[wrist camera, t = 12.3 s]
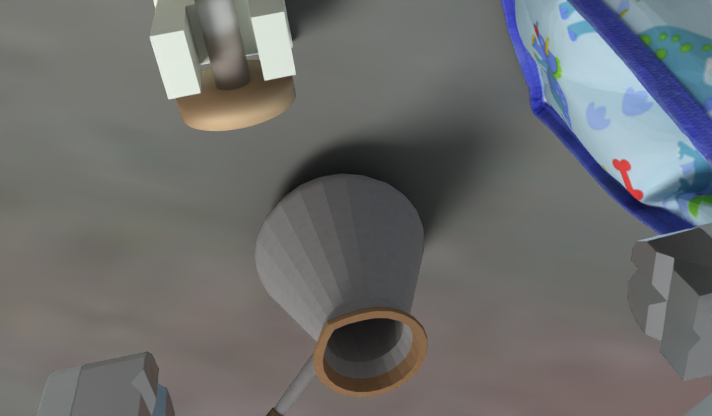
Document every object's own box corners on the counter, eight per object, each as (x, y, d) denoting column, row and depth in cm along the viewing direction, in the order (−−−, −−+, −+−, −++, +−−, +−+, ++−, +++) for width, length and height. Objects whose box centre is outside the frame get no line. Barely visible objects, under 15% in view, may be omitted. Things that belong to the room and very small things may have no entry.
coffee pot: (338, 122, 44) (392, 257, 31) (444, 221, 49) (526, 370, 37) (122, 322, 49) (94, 507, 36) (241, 391, 54) (253, 572, 42)
